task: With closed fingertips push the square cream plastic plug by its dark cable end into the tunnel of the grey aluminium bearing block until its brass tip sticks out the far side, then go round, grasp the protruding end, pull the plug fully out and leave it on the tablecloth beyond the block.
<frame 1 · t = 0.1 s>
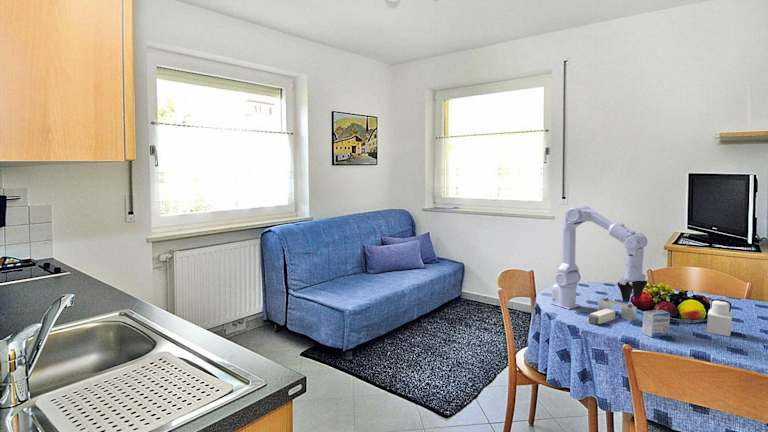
hand: (631, 299, 176), 10 cm above the table, tool pointing down, fingers open, 7 cm apart
medicine box: (655, 335, 168), on the table
plug: (602, 320, 182), on the table
medicine bottle: (718, 332, 170), on the table
bearing block: (616, 315, 188), on the table
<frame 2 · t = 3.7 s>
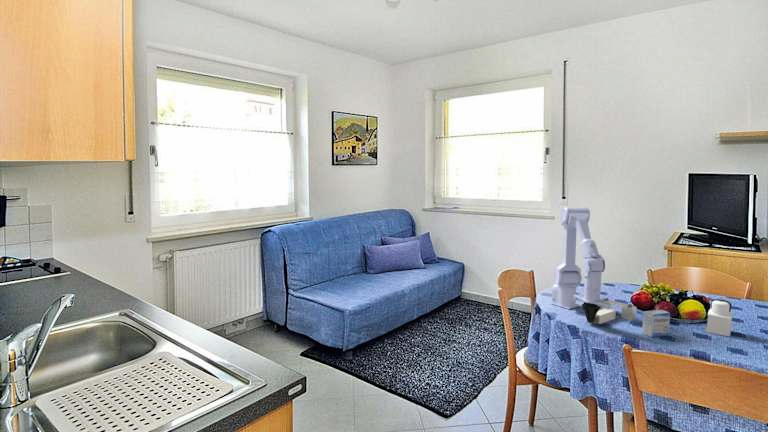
hand: (590, 322, 177), 1 cm above the table, tool pointing down, fingers closed, pressing on plug
plug: (603, 320, 182), on the table, touching gripper
everything else where it was.
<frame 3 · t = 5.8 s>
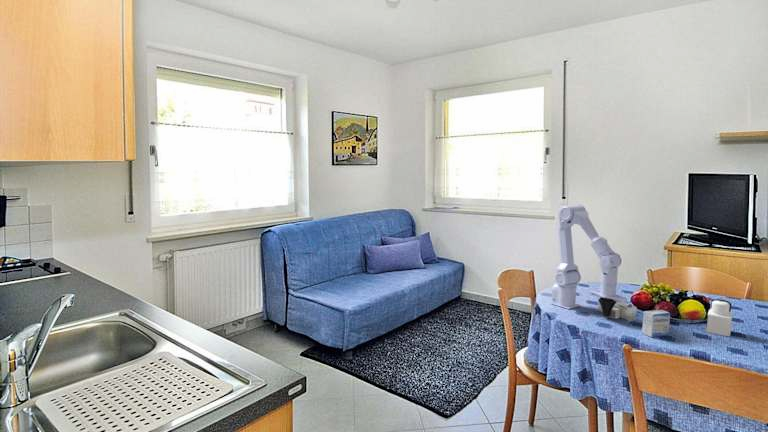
hand: (606, 316, 183), 1 cm above the table, tool pointing down, fingers closed, pressing on plug
plug: (619, 314, 188), on the table, touching gripper
everything else where it was.
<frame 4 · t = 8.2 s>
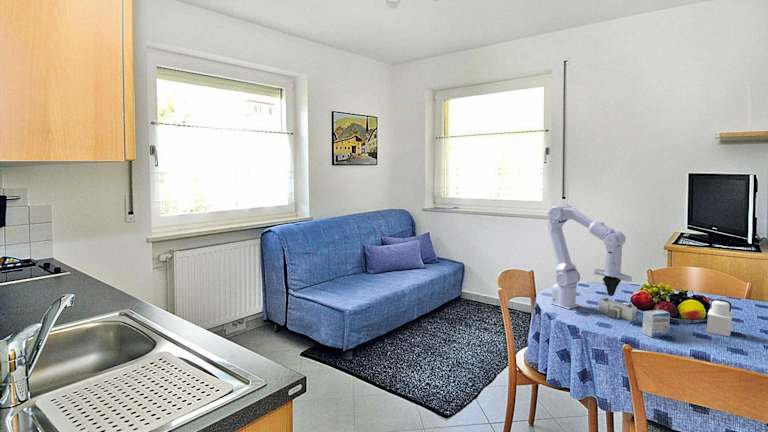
hand: (610, 295, 184), 9 cm above the table, tool pointing down, fingers closed
plug: (620, 314, 189), on the table
everything else where it was.
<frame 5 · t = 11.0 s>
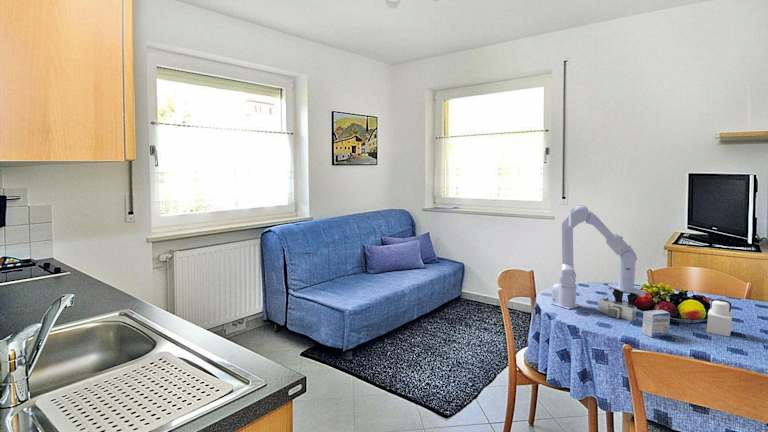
hand: (624, 309, 191), 1 cm above the table, tool pointing down, fingers closed on plug, 4 cm apart
plug: (620, 313, 189), on the table, touching gripper
everything else where it was.
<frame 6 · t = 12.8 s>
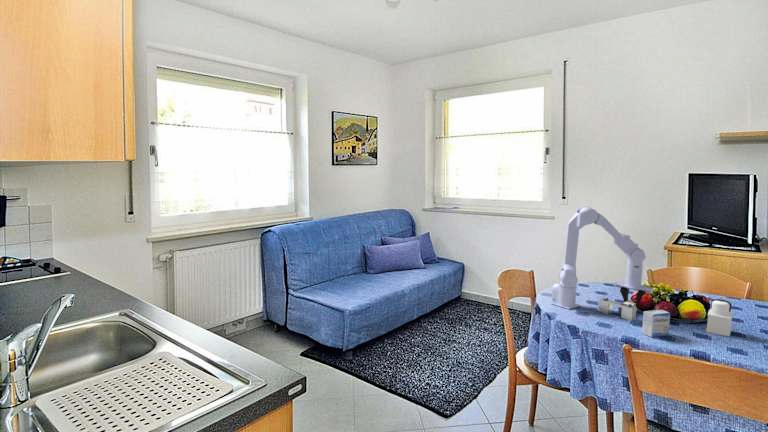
hand: (631, 306, 194), 2 cm above the table, tool pointing down, fingers closed on plug, 4 cm apart
plug: (628, 311, 192), on the table, touching gripper
everything else where it was.
when the fingers open (2 cm above the table, at t = 14.7 s): plug stays where it is, on the table.
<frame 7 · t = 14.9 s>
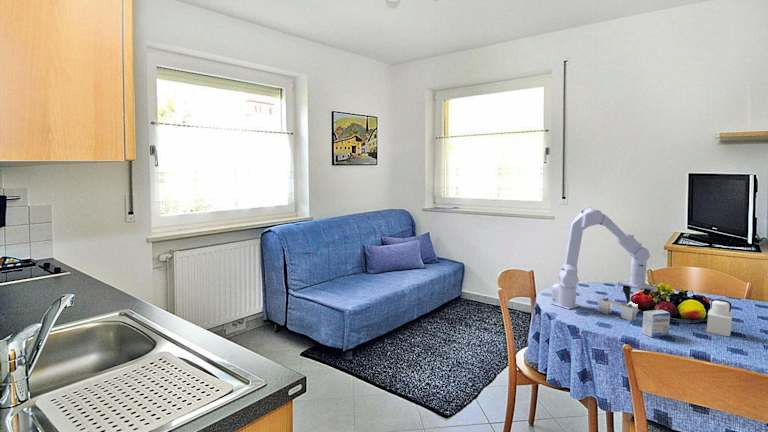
hand: (635, 304, 196), 2 cm above the table, tool pointing down, fingers open, 5 cm apart
plug: (633, 311, 193), on the table
everything else where it was.
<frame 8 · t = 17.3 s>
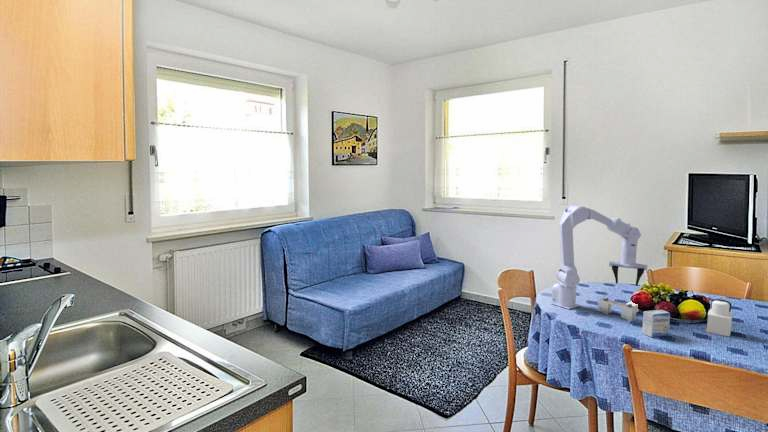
hand: (626, 284, 199), 9 cm above the table, tool pointing down, fingers open, 7 cm apart
at the end: plug inside the target area (1.5 cm from its centre), on the table; the gripper is holding nothing; plug moved 21.8 cm from its start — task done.
